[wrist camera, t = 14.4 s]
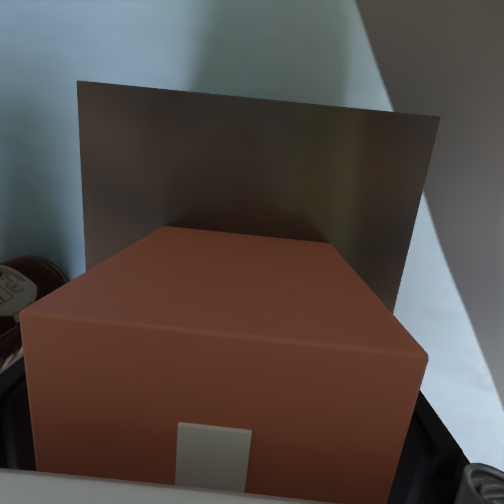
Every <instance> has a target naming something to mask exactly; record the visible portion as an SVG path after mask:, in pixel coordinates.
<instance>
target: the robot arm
mask: <svg viewBox="0 0 504 504" xmlns="http://www.w3.org/2000/svg"><path fill="white" fill-rule="evenodd" d="M0 504H339V503H330V502H321V501H313V500H304V499H295V498H286V497H278V496H269V495H260V494H251V493H242V492H233V491H223V490H214V489H205V488H196V487H186V486H177V485H168V484H158V483H149V482H139V481H129V480H119V479H109V478H100V477H90V476H80V475H70V474H60V473H50V472H39V471H37V469H36V460H35V451H34V442H33V433H32V425H31V416H30V407H29V398H28V389H27V380H26V371H25V363H24V356H23V357H21V358H20V359H19V360H18V361H16V362H15V363H14V364H13V365H11V366H10V367H9V368H8V369H6V370H5V371H4V372H2V373H1V374H0ZM386 504H504V472H503V471H501V470H499V469H496V468H494V467H492V466H489V465H486V464H482V463H470V462H469V460H468V459H467V458H466V456H465V455H464V453H463V451H462V449H461V448H460V447H459V445H458V444H457V442H456V441H455V439H454V438H453V437H452V435H451V434H450V432H449V431H448V429H447V428H446V427H445V425H444V424H443V422H442V421H441V419H440V418H439V417H438V415H437V414H436V412H435V411H434V409H433V408H432V407H431V405H430V404H429V402H428V401H427V399H426V398H425V397H424V395H423V394H422V392H421V391H420V390H419V393H418V397H417V400H416V404H415V407H414V411H413V414H412V417H411V421H410V424H409V428H408V431H407V435H406V438H405V441H404V445H403V448H402V452H401V455H400V459H399V462H398V465H397V469H396V472H395V476H394V479H393V483H392V486H391V489H390V493H389V496H388V500H387V503H386Z"/></svg>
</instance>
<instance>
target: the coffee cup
mask: <svg viewBox="0 0 504 504" xmlns="http://www.w3.org/2000/svg"><path fill="white" fill-rule="evenodd" d="M65 284H67V281H66V280H65V278H64V276H63V275H62V273H61V272H60V271H59V270H58V269H57V268H56V267H55V266H53V265H52V264H50V263H48V262H47V261H44V260H42V259H40V258H37V257H33V256H22V257H17V258H13V259H11V260H9V261H7V262H4V263H1V264H0V371H1V370H3V369H4V368H5V367H6V366H8V365H9V364H10V363H11V362H12V361H13V359H14V358H15V357H17V356H18V355H20V354H21V353H22V352H23V345H22V336H21V327H20V318H19V314H20V312H21V310H23V309H24V308H26V307H28V306H30V305H31V304H33V303H35V302H36V301H38V300H40V299H41V298H43V297H45V296H46V295H48V294H50V293H51V292H53V291H55V290H56V289H58V288H60V287H62V286H63V285H65Z"/></svg>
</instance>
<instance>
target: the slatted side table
mask: <svg viewBox="0 0 504 504" xmlns="http://www.w3.org/2000/svg"><path fill="white" fill-rule="evenodd" d="M77 97H78V117H79V137H80V158H81V178H82V198H83V219H84V239H85V259H86V272H87V271H88V270H90V269H92V268H94V267H95V266H97V265H99V264H100V263H102V262H104V261H105V260H107V259H109V258H110V257H112V256H114V255H115V254H117V253H119V252H120V251H122V250H124V249H126V248H127V247H129V246H131V245H132V244H134V243H136V242H137V241H139V240H141V239H142V238H144V237H146V236H147V235H149V234H151V233H152V232H154V231H156V230H158V229H159V228H161V227H163V226H170V227H180V228H189V229H199V230H208V231H218V232H227V233H237V234H246V235H256V236H265V237H275V238H284V239H294V240H303V241H313V242H322V243H330V244H331V245H332V246H333V247H334V248H335V249H336V250H337V251H338V253H339V254H340V255H341V256H342V257H343V258H344V259H345V261H346V262H347V263H348V264H349V265H350V266H351V267H352V269H353V270H354V271H355V272H356V273H357V274H358V275H359V277H360V278H361V279H362V280H363V281H364V282H365V283H366V284H367V286H368V287H369V288H370V289H371V290H372V291H373V292H374V294H375V295H376V296H377V297H378V298H379V299H380V300H381V302H382V303H383V304H384V305H385V306H386V307H387V308H388V310H389V311H390V312H391V313H392V314H393V311H394V307H395V303H396V299H397V294H398V290H399V286H400V282H401V278H402V274H403V270H404V265H405V261H406V257H407V253H408V249H409V245H410V241H411V237H412V232H413V228H414V224H415V220H416V216H417V212H418V208H419V204H420V199H421V195H422V191H423V187H424V183H425V179H426V175H427V171H428V166H429V162H430V158H431V154H432V150H433V146H434V142H435V138H436V133H437V129H438V125H439V121H440V117H438V116H428V115H418V114H408V113H398V112H388V111H378V110H368V109H358V108H348V107H338V106H328V105H318V104H308V103H298V102H288V101H278V100H268V99H258V98H248V97H238V96H228V95H218V94H208V93H198V92H188V91H178V90H168V89H158V88H148V87H138V86H128V85H118V84H108V83H98V82H88V81H77Z"/></svg>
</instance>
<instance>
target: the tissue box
mask: <svg viewBox="0 0 504 504" xmlns="http://www.w3.org/2000/svg"><path fill="white" fill-rule="evenodd" d="M19 318H20V327H21V336H22V345H23V354H24V363H25V371H26V380H27V389H28V398H29V407H30V416H31V425H32V433H33V442H34V451H35V460H36V469H37V471H39V472H50V473H60V474H70V475H80V476H90V477H100V478H109V479H119V480H129V481H139V482H149V483H158V484H168V485H177V486H186V487H196V488H205V489H214V490H223V491H233V492H242V493H251V494H260V495H269V496H278V497H286V498H295V499H304V500H313V501H321V502H330V503H339V504H386V503H387V500H388V496H389V493H390V489H391V486H392V483H393V479H394V476H395V472H396V469H397V465H398V462H399V459H400V455H401V452H402V448H403V445H404V441H405V438H406V435H407V431H408V428H409V424H410V421H411V417H412V414H413V411H414V407H415V404H416V400H417V397H418V393H419V390H420V387H421V383H422V380H423V376H424V373H425V369H426V366H427V363H428V354H427V353H426V352H425V351H424V349H423V348H422V347H421V346H420V345H419V344H418V343H417V341H416V340H415V339H414V338H413V337H412V336H411V335H410V333H409V332H408V331H407V330H406V329H405V328H404V327H403V325H402V324H401V323H400V322H399V321H398V320H397V319H396V318H395V316H394V315H393V314H392V313H391V312H390V311H389V310H388V308H387V307H386V306H385V305H384V304H383V303H382V302H381V300H380V299H379V298H378V297H377V296H376V295H375V294H374V292H373V291H372V290H371V289H370V288H369V287H368V286H367V284H366V283H365V282H364V281H363V280H362V279H361V278H360V277H359V275H358V274H357V273H356V272H355V271H354V270H353V269H352V267H351V266H350V265H349V264H348V263H347V262H346V261H345V259H344V258H343V257H342V256H341V255H340V254H339V253H338V251H337V250H336V249H335V248H334V247H333V246H332V245H331V244H330V243H322V242H313V241H303V240H294V239H284V238H275V237H265V236H256V235H246V234H237V233H227V232H218V231H208V230H199V229H189V228H180V227H170V226H163V227H161V228H159V229H158V230H156V231H154V232H152V233H151V234H149V235H147V236H146V237H144V238H142V239H141V240H139V241H137V242H136V243H134V244H132V245H131V246H129V247H127V248H126V249H124V250H122V251H120V252H119V253H117V254H115V255H114V256H112V257H110V258H109V259H107V260H105V261H104V262H102V263H100V264H99V265H97V266H95V267H94V268H92V269H90V270H88V271H87V272H85V273H83V274H82V275H80V276H78V277H77V278H75V279H73V280H72V281H70V282H68V283H67V284H65V285H63V286H62V287H60V288H58V289H56V290H55V291H53V292H51V293H50V294H48V295H46V296H45V297H43V298H41V299H40V300H38V301H36V302H35V303H33V304H31V305H30V306H28V307H26V308H24V309H23V310H21V312H20V314H19Z"/></svg>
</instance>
